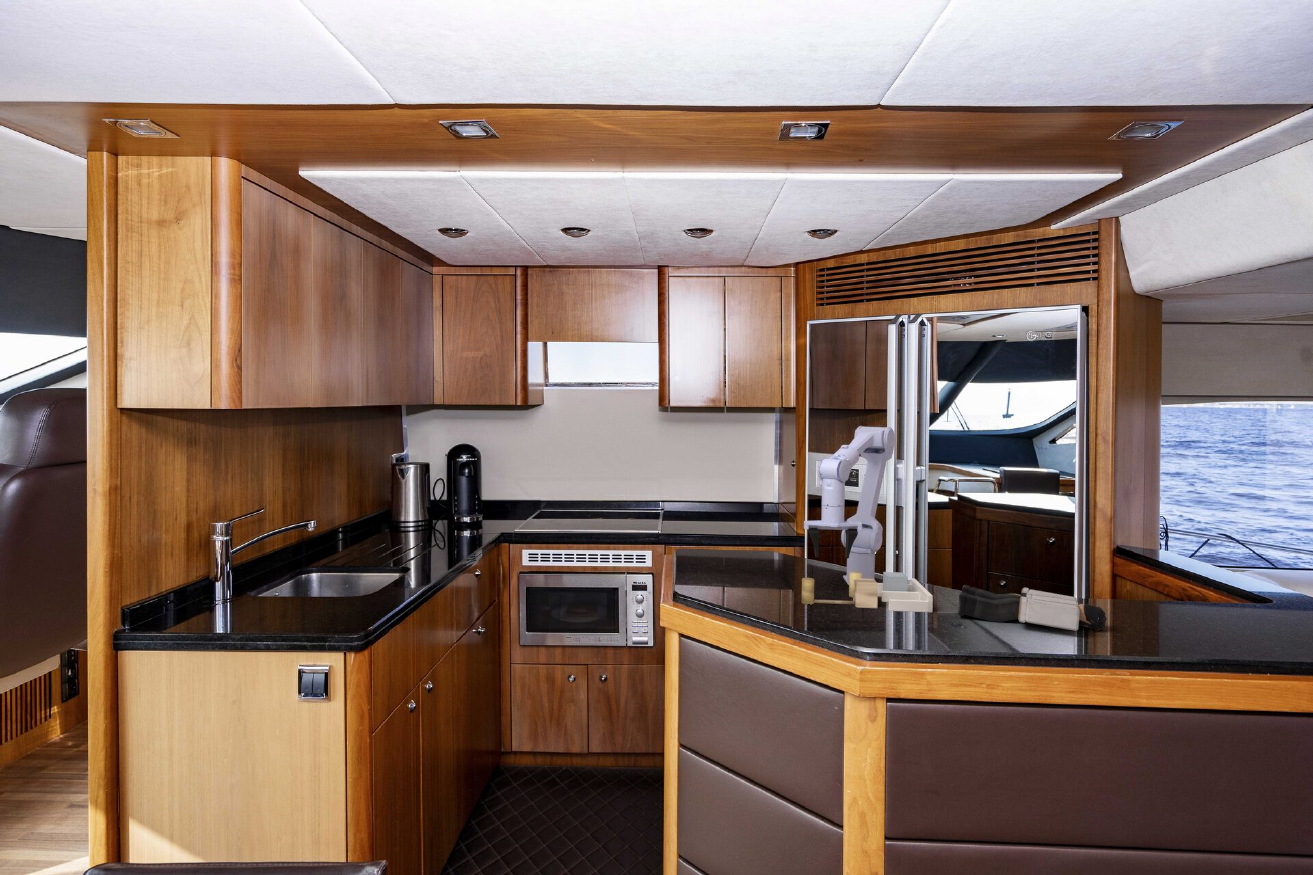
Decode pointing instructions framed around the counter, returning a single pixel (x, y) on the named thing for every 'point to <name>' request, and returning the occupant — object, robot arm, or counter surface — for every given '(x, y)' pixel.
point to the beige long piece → (862, 593)
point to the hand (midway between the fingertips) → (831, 557)
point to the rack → (908, 598)
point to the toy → (1030, 608)
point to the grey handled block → (884, 581)
